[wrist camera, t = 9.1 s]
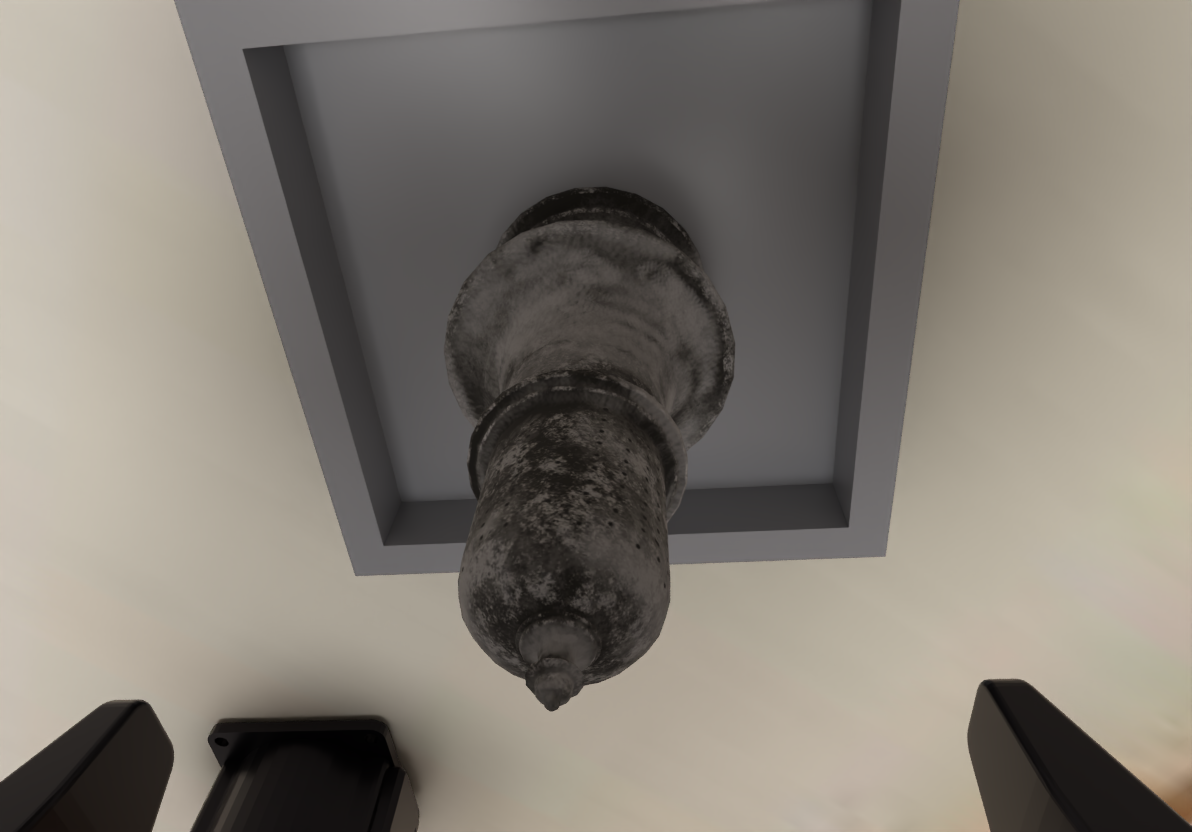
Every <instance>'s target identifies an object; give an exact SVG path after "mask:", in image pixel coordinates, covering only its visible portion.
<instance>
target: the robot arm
mask: <svg viewBox="0 0 1192 832" xmlns="http://www.w3.org/2000/svg"><path fill="white" fill-rule="evenodd" d="M967 740H968V748H969V754H970V758H971V761H972V765H973V769H974V772H975V776H976V780H977V783H978V787H979V791H980V794H981V798H982V802H983V805H984V809H985V813H986V816H987V820H988V824H989V827H990V831H991V832H1192V826H1191V825H1190V824H1189V823H1188V822H1187V821H1186V820H1185V819H1183V818H1182V817H1181V816H1180V815H1179V814H1178V813H1177V812H1175V811H1174V810H1173V809H1172V808H1171V807H1170V806H1169V805H1167V804H1166V803H1165V802H1164V801H1163V800H1162V799H1161V798H1159V797H1158V796H1157V795H1156V794H1155V793H1154V792H1153V791H1151V790H1150V789H1149V788H1148V787H1147V786H1146V785H1145V784H1144V783H1142V782H1141V781H1140V780H1139V779H1138V778H1137V777H1136V776H1134V775H1133V774H1132V773H1131V772H1130V771H1129V770H1128V769H1126V768H1125V767H1124V766H1123V765H1122V764H1121V763H1120V762H1118V761H1117V760H1116V759H1115V758H1114V757H1113V756H1112V755H1110V754H1109V753H1108V752H1107V751H1106V750H1105V749H1104V748H1102V747H1101V746H1100V745H1099V744H1098V743H1097V742H1096V741H1094V740H1093V739H1092V738H1091V737H1090V736H1089V735H1088V734H1087V733H1085V732H1084V731H1083V730H1082V729H1081V728H1080V727H1079V726H1077V725H1076V724H1075V723H1074V722H1073V721H1072V720H1071V719H1069V718H1068V717H1067V716H1066V715H1065V714H1064V713H1063V712H1061V711H1060V710H1059V709H1058V708H1057V707H1056V706H1055V705H1053V704H1052V703H1051V702H1050V701H1049V700H1048V699H1047V698H1045V697H1044V696H1043V695H1042V694H1041V693H1040V692H1039V691H1037V690H1036V689H1035V688H1034V687H1033V686H1032V685H1030V684H1029V683H1027V682H1025V681H1023V680H1021V679H988V680H984V681H983V682H981V684H980V685H979V687H978V689H977V693H976V697H975V702H974V706H973V710H972V714H971V718H970V723H969V727H968V734H967ZM208 743H209V745H210V747H211V749H212V750H213V752H214V754H215V756H216V758H217V760H218V762H219V764H220V766H221V770H220V772H219V774H218V776H217V778H216V780H215V782H214V784H213V786H212V788H211V790H210V792H209V794H208V796H207V798H206V800H205V802H204V804H203V806H202V808H201V810H200V812H199V814H198V816H197V818H196V820H195V822H194V824H193V826H192V829H191V831H190V832H417V830H418V826H419V820H418V815H419V809H418V806H417V803H416V799H415V796H414V793H413V790H412V787H411V784H410V781H409V778H408V775H407V772H406V771H405V770H404V769H403V767H402V766H401V765H400V762H399V759H398V756H397V753H396V750H395V747H394V744H393V741H392V738H391V735H390V732H389V729H388V727H387V726H386V725H385V724H384V723H382V722H380V721H377V720H348V721H304V722H259V723H221V724H217V725H215V726H214V727H213V729H212V731H211V733H210V735H209V737H208ZM173 762H174V750H173V745H172V743H171V741H170V739H169V737H168V735H167V733H166V732H165V730H164V728H163V726H162V724H161V723H160V721H159V719H158V717H157V715H156V714H155V712H154V710H153V708H152V707H151V705H150V704H149V703H147V702H146V701H144V700H114V701H109V702H106V703H104V704H102V705H101V706H99V707H98V708H96V709H95V710H94V711H92V712H91V713H90V714H88V715H87V716H86V717H85V718H83V719H82V720H81V721H79V722H78V723H77V724H75V725H74V726H73V727H72V728H70V729H69V730H68V731H66V732H65V733H64V734H62V735H61V736H60V737H59V738H57V739H56V740H55V741H53V742H52V743H51V744H49V745H48V746H47V747H46V748H44V749H43V750H42V751H40V752H39V753H38V754H36V755H35V756H34V757H32V758H31V759H30V760H29V761H27V762H26V763H25V764H23V765H22V766H21V767H19V768H18V769H17V770H16V771H14V772H13V773H12V774H10V775H9V776H8V777H6V778H5V779H4V780H3V781H1V782H0V832H152V830H153V826H154V823H155V820H156V817H157V814H158V811H159V808H160V805H161V802H162V799H163V796H164V793H165V789H166V786H167V783H168V780H169V777H170V774H171V771H172V767H173Z"/></svg>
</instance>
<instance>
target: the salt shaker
mask: <svg viewBox="0 0 1192 832" xmlns="http://www.w3.org/2000/svg"><path fill="white" fill-rule="evenodd" d="M444 356H445V362H446V368H447V375H448V381H449V385H450V387H451V389H452V392H453V394H454V396H455V398H456V400H457V402H458V404H459V407H460V409H461V411H462V413H463V415H464V416H465V417H466V419H467V420H468V421H469V422H470V424H471V425H472V426H473V427H474V428H475V429H474V431H473V433H472V435H471V438H470V444H469V451H468V457H467V468H468V474H469V481H470V487H471V489H472V491H473V493H474V495H475V497H476V499H477V501H478V504H477V507H476V511H475V514H474V518H473V521H472V525H471V528H470V532H469V536H468V539H467V543H466V546H465V550H464V553H463V557H462V561H461V567H460V573H459V579H458V592H459V602H460V608H461V613H462V618H463V620H464V622H465V624H466V626H467V628H468V630H469V632H470V633H471V635H472V637H473V639H474V640H475V641H476V642H477V644H478V645H479V646H480V647H481V649H482V650H483V651H484V652H485V653H486V654H487V655H488V656H489V657H490V658H491V659H492V660H493V661H494V662H495V663H496V664H497V665H499V666H501V667H502V668H504V669H505V670H507V671H508V672H510V673H511V674H513V675H515V676H518V677H520V678H523V679H525V680H526V686H527V687H528V688H529V689H530V690H531V691H532V692H533V693H534V695H535V696H536V698H537V699H538V700H539V701H540V702H541V703H542V704H544V706H545V708H546V709H547V710H549V711H555V710H557V709H558V708H559V706H561V705H563V704H566V703H567V702H568V701H569V699H570V698H571V697H573V696H576V695H577V694H578V693H579V692H580V690H581V689H582V688H583V686H584V685H589V684H594V683H599V682H601V681H604V680H606V679H609V678H611V677H613V676H616V675H618V674H620V673H621V672H622V671H624V670H625V669H626V668H628V667H629V666H630V665H632V664H633V663H634V662H636V661H637V660H638V659H639V658H641V657H642V656H643V655H644V654H645V653H646V652H647V651H648V650H649V648H650V647H651V646H652V645H653V643H654V642H655V641H656V639H657V638H658V637H659V635H660V632H661V629H662V626H663V624H664V621H665V618H666V615H667V611H668V607H669V603H670V566H669V548H668V530H667V523H668V521H669V520H670V519H671V517H672V516H673V514H674V513H675V511H676V510H677V509H678V507H679V506H680V503H681V500H682V497H683V494H684V491H685V488H686V485H687V475H688V455H687V452H686V451H687V450H689V449H690V448H691V447H692V446H693V445H695V444H696V443H697V442H698V441H699V440H701V439H702V438H703V437H704V435H705V434H706V433H707V431H708V430H709V428H710V427H711V426H712V424H713V423H714V421H715V420H716V418H717V417H718V416H719V414H720V413H721V411H722V410H723V407H724V404H725V402H726V399H727V396H728V393H729V390H730V387H731V384H732V381H733V379H734V363H735V340H734V336H733V332H732V328H731V324H730V320H729V316H728V312H727V308H726V305H725V304H724V302H723V300H722V299H721V297H720V295H719V294H718V292H717V290H716V289H715V287H714V285H713V284H712V282H711V280H710V279H709V277H708V275H707V274H706V273H705V272H704V269H703V265H702V261H701V258H700V254H699V252H698V250H697V249H696V247H695V245H694V243H693V242H692V240H691V238H690V237H689V235H688V233H687V232H686V230H685V228H684V227H682V226H681V225H680V224H679V223H678V222H677V221H676V220H675V219H674V218H673V217H672V216H671V215H670V214H669V213H668V212H667V211H666V210H665V209H664V208H662V207H660V206H658V205H656V204H655V203H653V202H651V201H649V200H647V199H645V198H643V197H641V196H640V195H638V194H635V193H631V192H627V191H622V190H618V189H614V188H609V187H585V188H573V189H570V190H567V191H564V192H560V193H557V194H554V195H551V196H548V197H545V198H544V199H542V200H541V201H539V202H538V203H536V204H535V205H533V206H531V207H530V208H528V209H527V210H525V211H524V212H522V213H521V214H520V215H519V216H518V217H517V219H516V220H515V221H514V222H513V223H512V224H511V225H510V227H509V228H508V229H507V230H506V231H505V232H504V233H503V234H502V237H501V239H500V241H499V243H498V245H497V247H496V249H495V250H494V251H492V252H490V253H489V254H488V255H487V256H486V257H485V258H484V259H483V261H482V262H481V263H480V264H479V265H478V266H477V267H476V269H475V270H474V271H473V272H472V273H471V274H470V275H469V277H468V278H467V279H466V280H465V281H464V283H463V285H462V287H461V289H460V291H459V293H458V296H457V298H456V300H455V302H454V304H453V307H452V309H451V311H450V313H449V315H448V321H447V329H446V336H445V344H444Z"/></svg>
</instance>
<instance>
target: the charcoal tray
mask: <svg viewBox="0 0 1192 832" xmlns="http://www.w3.org/2000/svg"><path fill="white" fill-rule="evenodd" d="M174 1H175V5H176V8H177V11H178V14H179V17H180V20H181V24H182V27H183V30H184V33H185V36H186V39H187V43H188V46H189V49H190V52H191V55H192V59H193V62H194V65H195V68H196V71H197V74H198V78H199V81H200V84H201V87H202V90H203V93H204V97H205V100H206V103H207V106H208V109H209V112H210V116H211V119H212V122H213V125H214V128H215V132H216V135H217V138H218V141H219V144H220V147H221V151H222V154H223V157H224V160H225V163H226V166H227V170H228V173H229V176H230V179H231V182H232V185H233V189H234V192H235V195H236V198H237V201H238V205H239V208H240V211H241V214H242V217H243V220H244V224H245V227H246V230H247V233H248V236H249V239H250V243H251V246H252V249H253V252H254V255H255V258H256V262H257V265H258V268H259V271H260V274H261V278H262V281H263V284H264V287H265V290H266V293H267V297H268V300H269V303H270V306H271V309H272V312H273V316H274V319H275V322H276V325H277V328H278V332H279V335H280V338H281V341H282V344H283V347H284V351H285V354H286V357H287V360H288V363H289V366H290V370H291V373H292V376H293V379H294V382H295V385H296V389H297V392H298V395H299V398H300V401H301V405H302V408H303V411H304V414H305V417H306V420H307V424H308V427H309V430H310V433H311V436H312V439H313V443H314V446H315V449H316V452H317V455H318V458H319V462H320V465H321V468H322V471H323V474H324V478H325V481H326V484H327V487H328V490H329V493H330V497H331V500H332V503H333V506H334V509H335V512H336V516H337V519H338V522H339V525H340V528H341V531H342V535H343V538H344V541H345V544H346V547H347V551H348V554H349V557H350V560H351V563H352V566H353V570H354V573H355V576H369V575H396V574H423V573H450V572H460V567H461V561H462V557H463V553H464V550H465V546H466V543H467V539H468V536H469V532H470V528H471V525H472V521H473V518H474V514H475V511H476V507H477V504H478V501H477V499H476V497H475V495H474V493H473V491H472V489H471V487H470V481H469V474H468V468H467V457H468V451H469V444H470V438H471V435H472V433H473V431H474V429H475V428H474V427H473V426H472V425H471V424H470V422H469V421H468V420H467V419H466V417H465V416H464V415H463V413H462V411H461V409H460V407H459V404H458V402H457V400H456V398H455V396H454V394H453V392H452V389H451V387H450V385H449V381H448V375H447V368H446V362H445V356H444V344H445V336H446V329H447V321H448V315H449V313H450V311H451V309H452V307H453V304H454V302H455V300H456V298H457V296H458V293H459V291H460V289H461V287H462V285H463V283H464V281H465V280H466V279H467V278H468V277H469V275H470V274H471V273H472V272H473V271H474V270H475V269H476V267H477V266H478V265H479V264H480V263H481V262H482V261H483V259H484V258H485V257H486V256H487V255H488V254H489V253H490V252H492V251H494V250H495V249H496V247H497V245H498V243H499V241H500V239H501V237H502V234H503V233H504V232H505V231H506V230H507V229H508V228H509V227H510V225H511V224H512V223H513V222H514V221H515V220H516V219H517V217H518V216H519V215H520V214H521V213H522V212H524V211H525V210H527V209H528V208H530V207H531V206H533V205H535V204H536V203H538V202H539V201H541V200H542V199H544V198H545V197H548V196H551V195H554V194H557V193H560V192H564V191H567V190H570V189H573V188H585V187H609V188H614V189H618V190H622V191H627V192H631V193H635V194H638V195H640V196H641V197H643V198H645V199H647V200H649V201H651V202H653V203H655V204H656V205H658V206H660V207H662V208H664V209H665V210H666V211H667V212H668V213H669V214H670V215H671V216H672V217H673V218H674V219H675V220H676V221H677V222H678V223H679V224H680V225H681V226H682V227H684V228H685V230H686V232H687V233H688V235H689V237H690V238H691V240H692V242H693V243H694V245H695V247H696V249H697V250H698V252H699V254H700V258H701V261H702V265H703V269H704V272H705V273H706V274H707V275H708V277H709V279H710V280H711V282H712V284H713V285H714V287H715V289H716V290H717V292H718V294H719V295H720V297H721V299H722V300H723V302H724V304H725V305H726V308H727V312H728V316H729V320H730V324H731V328H732V332H733V336H734V340H735V363H734V379H733V381H732V384H731V387H730V390H729V393H728V396H727V399H726V402H725V404H724V407H723V410H722V411H721V413H720V414H719V416H718V417H717V418H716V420H715V421H714V423H713V424H712V426H711V427H710V428H709V430H708V431H707V433H706V434H705V435H704V437H703V438H702V439H701V440H699V441H698V442H697V443H696V444H695V445H693V446H692V447H691V448H690V449H689V450H687V451H686V452H687V455H688V475H687V485H686V488H685V491H684V494H683V497H682V500H681V503H680V506H679V507H678V509H677V510H676V511H675V513H674V514H673V516H672V517H671V519H670V520H669V521H668V523H667V530H668V548H669V564H696V563H723V562H750V561H777V560H805V559H832V558H859V557H885V556H886V548H887V541H888V533H889V526H890V518H891V511H892V503H893V496H894V488H895V481H896V473H897V466H898V458H899V451H900V443H901V436H902V428H903V421H904V413H905V406H906V398H907V391H908V383H909V375H910V368H911V360H912V353H913V345H914V338H915V330H916V323H917V315H918V308H919V300H920V293H921V285H922V278H923V270H924V263H925V255H926V248H927V240H928V233H929V225H930V218H931V210H932V203H933V195H934V188H935V180H936V173H937V165H938V158H939V150H940V143H941V135H942V128H943V120H944V113H945V105H946V98H947V90H948V83H949V75H950V68H951V60H952V53H953V45H954V38H955V30H956V23H957V15H958V8H959V0H174Z"/></svg>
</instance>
